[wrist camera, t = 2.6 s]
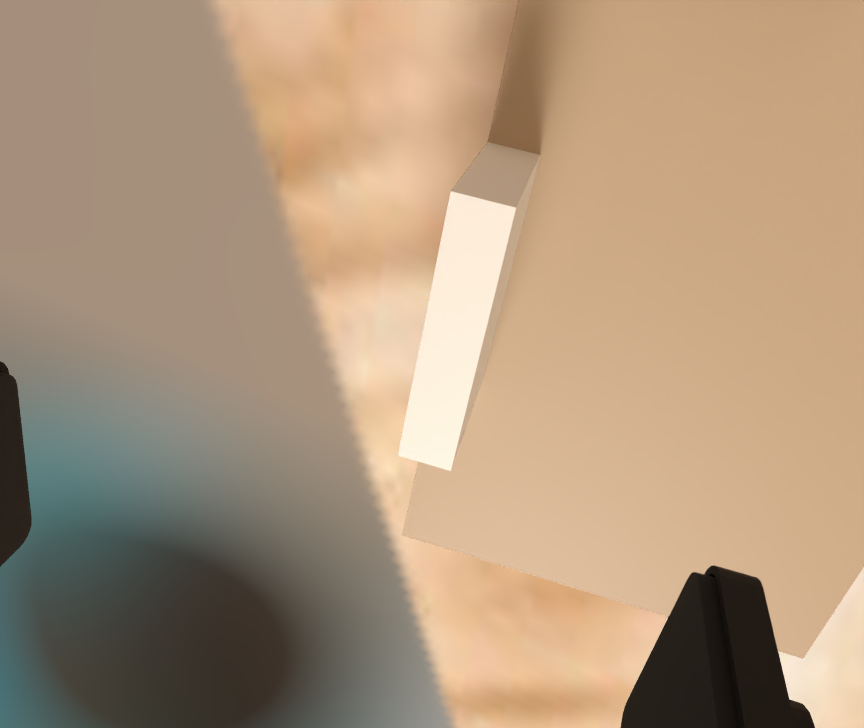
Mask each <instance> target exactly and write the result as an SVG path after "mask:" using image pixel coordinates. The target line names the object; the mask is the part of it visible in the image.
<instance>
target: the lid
mask: <svg viewBox="0 0 864 728" xmlns="http://www.w3.org/2000/svg"><path fill="white" fill-rule="evenodd" d="M398 456H401V457H405V458H408V459H411V460H415V461H418V465H417V469H416V474H415V478H414V483H413V488H412V492H411V497H410V501H409V506H408V510H407V515H406V520H405V524H404V529H403V533H402V535H403V536H406V537H409V538H413V539H416V540H419V541H422V542H426V543H429V544H432V545H435V546H439V547H442V548H445V549H448V550H452V551H455V552H458V553H461V554H465V555H468V556H471V557H474V558H478V559H481V560H484V561H487V562H491V563H494V564H497V565H500V566H504V567H507V568H510V569H513V570H517V571H520V572H523V573H526V574H530V575H533V576H536V577H539V578H543V579H546V580H549V581H552V582H556V583H559V584H562V585H565V586H569V587H572V588H575V589H578V590H582V591H585V592H588V593H591V594H595V595H598V596H601V597H604V598H608V599H611V600H614V601H618V602H621V603H624V604H627V605H631V606H634V607H637V608H640V609H644V610H647V611H650V612H653V613H657V614H660V615H663V616H666V617H669V615H670V613H671V611H672V609H673V607H674V605H675V603H676V601H677V599H678V597H679V595H680V593H681V591H682V589H683V587H684V585H685V583H686V581H687V579H688V577H689V576H690V574H691V573H692V572H697V573H701V574H705V572H706V570H707V569H708V568H709V567H710V566H714V565H715V566H718V567H722V568H725V569H729V570H732V571H736V572H739V573H743V574H746V575H750V576H753V577H757V578H758V579H759V580H760V581H761V583H762V586H763V589H764V593H765V598H766V602H767V606H768V610H769V615H770V619H771V623H772V628H773V632H774V636H775V641H776V645H777V649H778V651H780V652H783V653H787V654H790V655H793V656H796V657H800V658H804V656H805V655H806V653H807V652H808V650H809V649H810V647H811V646H812V644H813V643H814V641H815V640H816V638H817V637H818V635H819V634H820V632H821V631H822V629H823V628H824V626H825V625H826V623H827V621H828V620H829V618H830V617H831V615H832V614H833V612H834V611H835V609H836V608H837V606H838V605H839V603H840V602H841V600H842V599H843V597H844V596H845V594H846V593H847V591H848V590H849V588H850V587H851V585H852V584H853V582H854V581H855V579H856V578H857V576H858V574H859V573H860V571H861V570H862V568H863V567H864V0H519V2H518V7H517V11H516V16H515V20H514V25H513V30H512V34H511V39H510V43H509V48H508V52H507V57H506V62H505V66H504V71H503V75H502V80H501V85H500V89H499V94H498V98H497V103H496V107H495V112H494V117H493V121H492V126H491V130H490V135H489V139H488V143H487V144H486V145H485V147H484V148H483V149H482V151H481V152H480V153H479V154H478V156H477V157H476V158H475V160H474V161H473V162H472V164H471V165H470V166H469V168H468V169H467V170H466V172H465V173H464V174H463V176H462V177H461V178H460V180H459V181H458V182H457V184H456V185H455V186H454V188H453V189H452V190H451V192H450V197H449V202H448V207H447V212H446V217H445V222H444V227H443V232H442V237H441V242H440V247H439V252H438V257H437V262H436V267H435V272H434V277H433V282H432V287H431V292H430V297H429V302H428V307H427V312H426V317H425V322H424V327H423V332H422V337H421V342H420V347H419V352H418V357H417V362H416V367H415V372H414V377H413V382H412V387H411V392H410V397H409V402H408V407H407V412H406V417H405V422H404V427H403V432H402V437H401V442H400V447H399V452H398Z"/></svg>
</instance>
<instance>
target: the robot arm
mask: <svg viewBox="0 0 864 728" xmlns="http://www.w3.org/2000/svg"><path fill="white" fill-rule="evenodd" d="M29 501H30V500H29V491H28V482H27V473H26V464H25V454H24V445H23V435H22V426H21V417H20V407H19V398H18V389H17V383H16V380H15V379H14V377H13V376H11V375H9V371H8V368H7V367H6V365H5V364H4V363H2V362H0V566H1V565H2V564H3V563H4V562H5V561H6V560H7V559H8V558H9V557H10V556H11V555H12V554H13V553H14V552H15V551H16V550H17V549H18V548H19V547H20V546H21V545H22V544H23V543H24V541H25V539H26V538H27V536H28V533H29V531H30V528H31V509H30V502H29ZM621 728H815V726H814V723H813V720H812V718H811V715H810V712H809V711H808V710H807V709H806V707H805V706H804V705H803V704H801V703H798V702H795V701H792V700H789V697H788V692H787V688H786V684H785V679H784V675H783V671H782V666H781V662H780V658H779V654H778V649H777V645H776V641H775V636H774V632H773V628H772V623H771V619H770V615H769V610H768V606H767V602H766V598H765V593H764V589H763V586H762V583H761V581H760V580H759V579H758V578H757V577H753V576H750V575H746V574H743V573H739V572H736V571H732V570H729V569H725V568H722V567H718V566H715V565H714V566H710V567H709V568H708V569H707V570H706V572H705V574H701V573H697V572H692V573H691V574H690V576H689V577H688V579H687V581H686V583H685V585H684V587H683V589H682V591H681V593H680V595H679V597H678V599H677V601H676V603H675V605H674V607H673V609H672V611H671V613H670V615H669V617H668V619H667V621H666V623H665V625H664V628H663V630H662V632H661V634H660V636H659V638H658V640H657V642H656V644H655V646H654V648H653V650H652V652H651V654H650V656H649V658H648V660H647V662H646V664H645V666H644V668H643V670H642V672H641V674H640V676H639V678H638V680H637V682H636V684H635V686H634V688H633V690H632V692H631V694H630V697H629V699H628V701H627V703H626V705H625V709H624V712H623V717H622V723H621Z"/></svg>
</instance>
